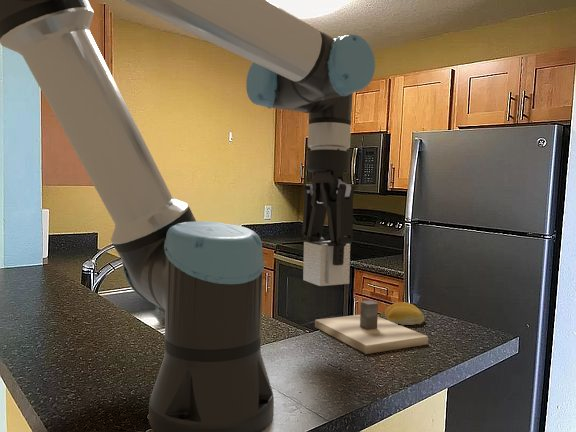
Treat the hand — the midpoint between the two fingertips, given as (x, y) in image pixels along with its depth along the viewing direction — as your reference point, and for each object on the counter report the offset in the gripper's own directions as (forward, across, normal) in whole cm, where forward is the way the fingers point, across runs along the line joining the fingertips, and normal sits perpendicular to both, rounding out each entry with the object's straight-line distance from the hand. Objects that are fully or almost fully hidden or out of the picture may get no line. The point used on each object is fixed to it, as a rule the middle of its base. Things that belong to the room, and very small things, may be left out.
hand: (324, 279), depth 85 cm
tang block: (+12, +3, -12) cm, 18 cm away
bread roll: (+12, +9, -26) cm, 31 cm away
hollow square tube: (0, 0, 0) cm, 0 cm away
